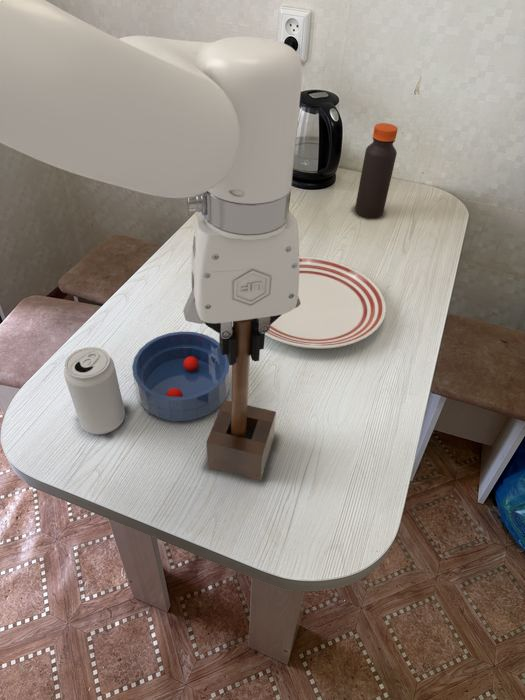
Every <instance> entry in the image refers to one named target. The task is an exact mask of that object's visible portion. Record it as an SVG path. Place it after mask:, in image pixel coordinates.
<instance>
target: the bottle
mask: <svg viewBox="0 0 525 700" xmlns="http://www.w3.org/2000/svg"><path fill="white" fill-rule="evenodd" d="M398 130H399V129H398V127H397V126H396V125H394V124H392V123H387V122H380V123H376V124H375V125H374V128H373V132H372V142H371V143H370V144H369V145H368V146H367V147H366V148H365V152H364V158H363V163H362V169H361V174H360V180H359V185H358V190H357V196H356V201H355V207H354V210H355V213H356V214H357V215H358V216H359V217H362V218H365V219H378V218H380V217H382V216H383V214H384V211H385V207H386V202H387V199H388V193H389V188H390V185H391V180H392V176H393V171H394V168H395V163H396V158H397V154H398V151H397V149H396V148H395V146H394V143H395V142H396V138H397V135H398Z"/></svg>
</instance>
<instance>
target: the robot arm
mask: <svg viewBox="0 0 525 700" xmlns="http://www.w3.org/2000/svg"><path fill="white" fill-rule="evenodd" d="M302 83H303V66H302V60H301V58H300V56H299V54H298V52H297V51H296V50H295V49H294V48H293V47H292V46H290V45H288V44H286V43H284V42H282V41H279V40H276V39H271V38H267V37H266V38H265V37H259V36H232V37H231V36H229V37H225V38H220V39H218V40H215V41H211V42H209V41H207V42H206V41H193V40H181V39H175V38H166V37H165V38H164V37H158V36H149V35H129V36H124V37H120V38H117V37H115V36H113V35H112V34H109V33H107V32H105V31H104V30H101V29H99V28H97V27H95V26H94V25H91V24H89V23H87V22H85V21H84V20H82V19H80V18H78V17H76V16H74V15H73V14H70V13H69V12H67V11H65V10H63V9H61V8H60V7H58V6H56V5H54V4H53V3H51V2H49V1H48V0H0V144H2V145H3V146H6V147H9V148H11V149H12V150H15V151H17V152H19V153H22V154H24V155H26V156H28V157H31V158H32V159H34V160H37V161H39V162H43V163H44V164H47V165H49V166H52V167H55V168H58V169H60V170H63V171H65V172H68V173H72V174H75V175H77V176H81V177H84V178H87V179H91V180H93V181H97V182H102V183H105V184H109V185H111V186H112V185H113V186H115V187H119V188H123V189H127V190H130V191H134V192H137V193H141V194H144V195H145V194H146V195H150V196H154V197H161V198H167V199H168V198H169V199H183V198H184V199H185V198H186V206H187V211H188V212H196V213H198V215H197V218H196V221H195V226H194V233H193V240H192V251H191V254H192V255H191V270H190V271H191V273H190V274H191V275H190V276H191V277H190V279H191V283H190V284H191V292H190V293H189V296H188V298H187V300H186V303H185V305H184V307H183V310H182V313H183V315H184V319H185V321H186V322H189V323H194V324H200V325H202V324H204V325H205V326H207V327H208V328H210V329H211V330H213V331H214V332H216V333H217V334H219V336H218V337H219V339H218V342H219V345H220V351H221V354H222V355H227V358H228V361H229V364H230V366H232V365H235V363H236V355H237V338H236V335H235V332H234V330H233V321H241V320H248V319H252V328H251V347H250V359H251V361H253V362H259V361H260V355H261V350H264V349H265V339H266V338H265V336H266V335H265V333H267V332H268V331H269V329H270V325H271V324H272V323H273V322H274V321H275V320H277V319H278V318H279V317H280V316H281V315H282V314H285V313H288V312H290V311H292V310H293V309H294V308H296V307H298V306H299V305H300V304H301V302H300V299H299V297H298V290H299V257H300V238H299V237H300V236H299V235H300V234H299V227H298V220H297V218H296V216H295V215H294V214H293V213H292V212H291V210H290V203H291V193H292V184H293V174H294V164H295V153H296V144H297V133H298V123H299V113H300V104H301V91H302Z"/></svg>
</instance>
